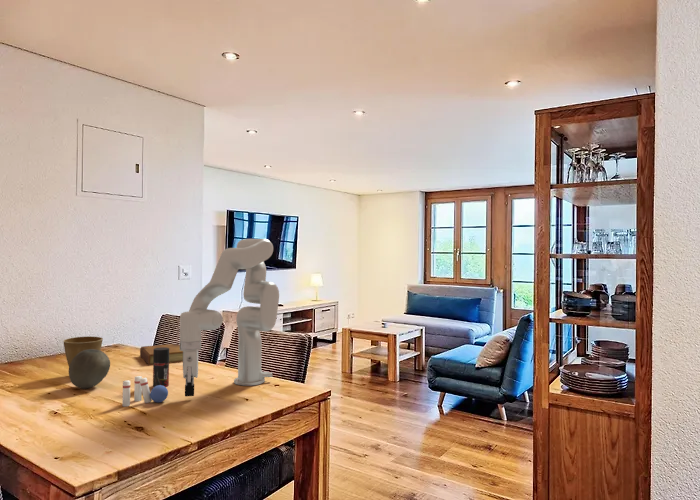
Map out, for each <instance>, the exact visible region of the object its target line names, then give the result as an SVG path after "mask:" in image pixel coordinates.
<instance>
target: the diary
mask: <svg viewBox="0 0 700 500" xmlns="http://www.w3.org/2000/svg"><path fill="white" fill-rule="evenodd" d="M161 347H166V348H169V364H171V363H173V364H174V363H183V351H180V350H179V349H180V343H168V344H157V345H145V346H143V345H142V346H141V347H140V349H139V356H140V357H141V358H142V359H143V361H144V362H145V363H147V365H149V366H153V352H154V349H155V348H161Z"/></svg>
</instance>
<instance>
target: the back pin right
mask: <svg viewBox="0 0 700 500" xmlns="http://www.w3.org/2000/svg"><path fill="white" fill-rule="evenodd" d="M142 378H143V376H142V375H141V376H140V375H137V376H134V380H133V381H134V382H133V383H134V387H133V388H134V390H133V391H134V393H133V395H134V398H133V399H134V400H133V401H134V402H140V401H142V396H143V393H142V389H141V385H140V379H142Z"/></svg>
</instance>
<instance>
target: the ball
mask: <svg viewBox="0 0 700 500" xmlns="http://www.w3.org/2000/svg"><path fill="white" fill-rule="evenodd" d="M168 396H169V390H168V388H167V387H165V386H162V385H158V386H155V387H152V388H151V390H150V397H151V400H152V401H153V402H154V403H162V402H164V401H165V400H166V399H167V398H168Z"/></svg>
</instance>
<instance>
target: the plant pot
mask: <svg viewBox="0 0 700 500" xmlns="http://www.w3.org/2000/svg"><path fill="white" fill-rule="evenodd" d="M103 340H104V339H103V337H101V336H75V337H69V338H66V339H63V348H64V353H65V359H66V362H67V365H68V367H69V366H70V364H71V361H72V360H73V358H74V357H75V356H76V355H77V354H78V353H79V352H81V351H84V350H87V349H96V350H100V351H102V345H103Z"/></svg>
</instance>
